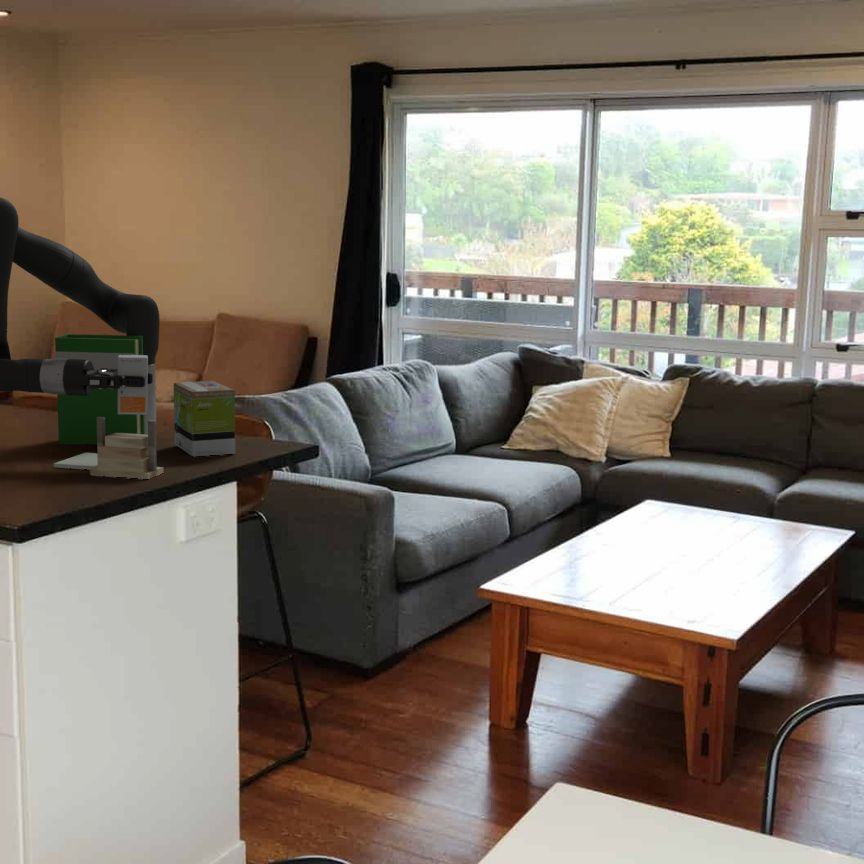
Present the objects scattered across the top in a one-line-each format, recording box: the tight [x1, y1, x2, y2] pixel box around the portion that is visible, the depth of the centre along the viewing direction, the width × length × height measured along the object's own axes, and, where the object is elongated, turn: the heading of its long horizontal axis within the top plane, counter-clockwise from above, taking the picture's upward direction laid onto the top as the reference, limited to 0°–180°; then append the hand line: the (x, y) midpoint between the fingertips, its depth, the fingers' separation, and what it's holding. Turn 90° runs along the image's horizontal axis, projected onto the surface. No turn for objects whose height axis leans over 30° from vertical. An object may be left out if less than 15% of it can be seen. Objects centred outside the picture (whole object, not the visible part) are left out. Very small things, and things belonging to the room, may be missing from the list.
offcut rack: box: [89, 417, 165, 480], centre depth 241 cm, size 7×12×11 cm, turn 77°
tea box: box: [173, 380, 236, 458], centre depth 268 cm, size 15×10×15 cm, turn 27°
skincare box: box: [118, 355, 148, 415], centre depth 250 cm, size 6×4×12 cm
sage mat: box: [53, 452, 98, 471], centre depth 252 cm, size 13×9×1 cm
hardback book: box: [54, 333, 145, 446], centre depth 274 cm, size 18×7×24 cm, turn 90°
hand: (148, 380), depth 250 cm, fingers closed on skincare box, 5 cm apart
